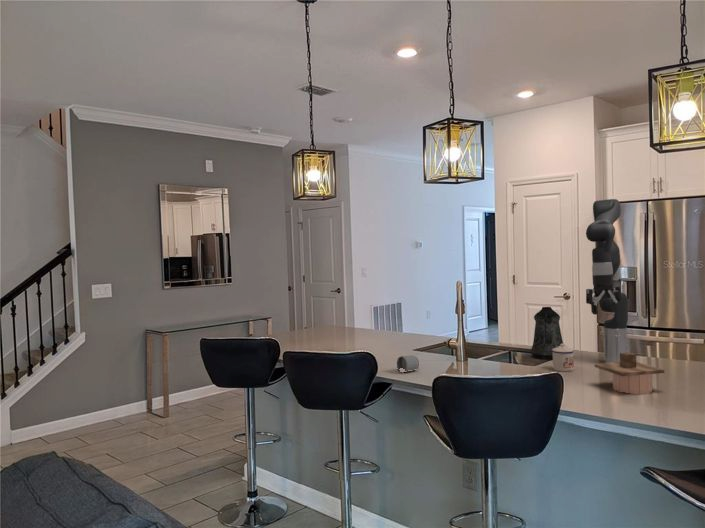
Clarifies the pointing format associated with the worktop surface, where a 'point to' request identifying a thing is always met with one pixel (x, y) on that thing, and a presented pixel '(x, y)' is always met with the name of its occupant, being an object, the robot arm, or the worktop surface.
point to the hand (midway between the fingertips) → (604, 313)
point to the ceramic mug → (408, 362)
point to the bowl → (633, 383)
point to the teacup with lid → (563, 358)
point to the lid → (628, 366)
